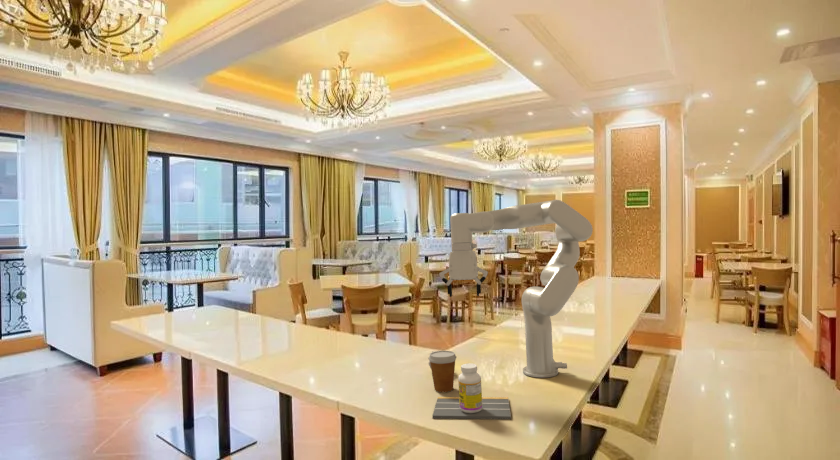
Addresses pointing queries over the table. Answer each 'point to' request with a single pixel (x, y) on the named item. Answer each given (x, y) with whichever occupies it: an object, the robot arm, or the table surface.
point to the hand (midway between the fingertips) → (464, 295)
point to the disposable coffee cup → (443, 370)
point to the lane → (490, 410)
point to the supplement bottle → (470, 389)
